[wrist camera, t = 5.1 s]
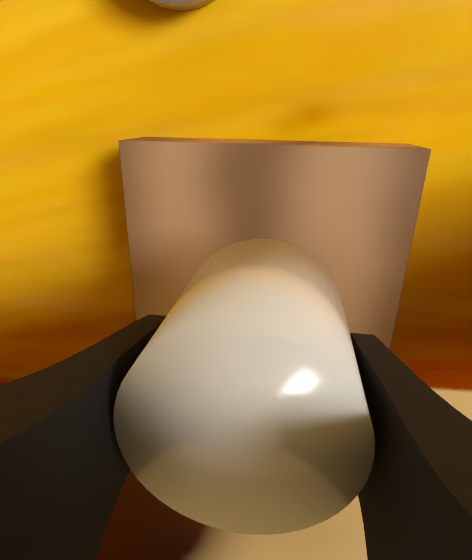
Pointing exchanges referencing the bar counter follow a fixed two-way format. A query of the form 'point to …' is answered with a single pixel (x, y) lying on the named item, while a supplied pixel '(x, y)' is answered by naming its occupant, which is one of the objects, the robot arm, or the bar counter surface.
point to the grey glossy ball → (181, 4)
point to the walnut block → (274, 214)
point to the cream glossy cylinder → (250, 396)
